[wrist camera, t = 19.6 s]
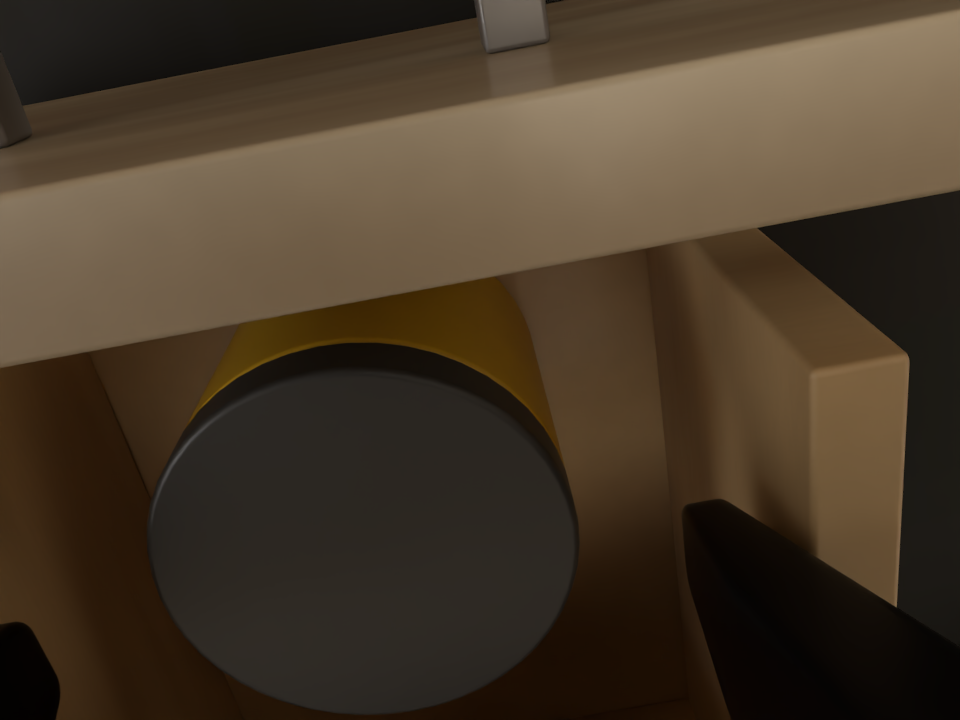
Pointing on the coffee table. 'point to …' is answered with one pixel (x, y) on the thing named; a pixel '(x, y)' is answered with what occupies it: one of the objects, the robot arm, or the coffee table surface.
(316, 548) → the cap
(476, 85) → the drawer
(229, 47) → the coffee table surface
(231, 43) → the coffee table surface
